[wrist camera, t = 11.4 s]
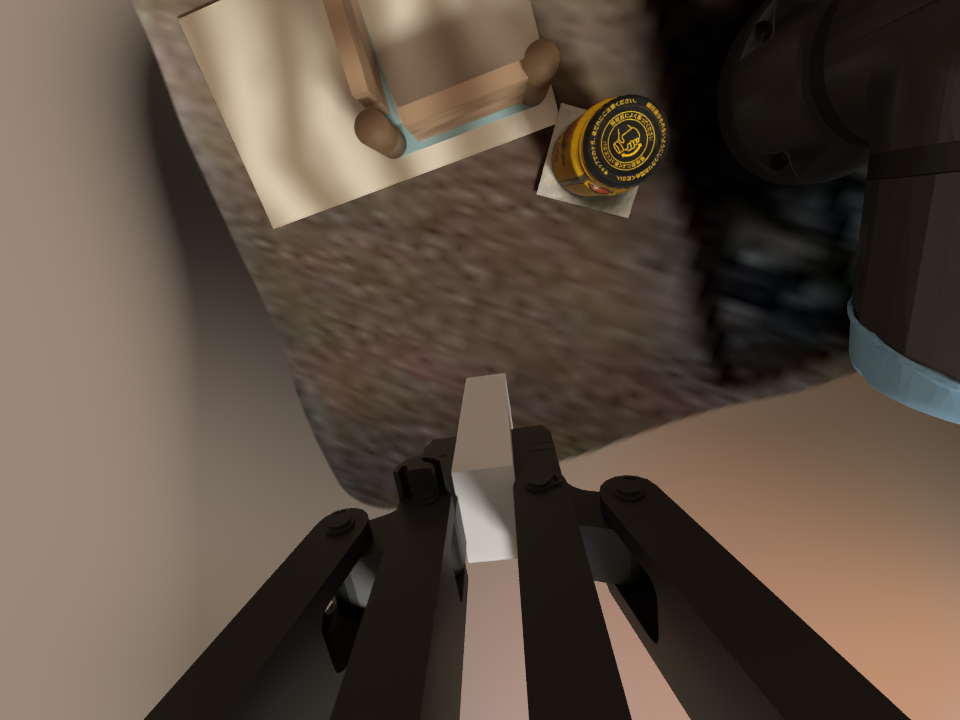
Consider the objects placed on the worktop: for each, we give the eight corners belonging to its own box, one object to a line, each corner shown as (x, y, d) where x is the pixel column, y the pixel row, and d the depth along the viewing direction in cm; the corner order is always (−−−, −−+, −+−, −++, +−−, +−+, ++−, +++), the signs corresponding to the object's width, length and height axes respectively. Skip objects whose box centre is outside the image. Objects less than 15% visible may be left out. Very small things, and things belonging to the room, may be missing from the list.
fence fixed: (385, 162, 39) (360, 151, 32) (374, 134, 38) (347, 115, 31) (550, 100, 37) (564, 73, 30) (542, 68, 36) (554, 32, 29)
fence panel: (397, 110, 37) (374, 86, 30) (370, 119, 37) (341, 96, 30) (350, -53, 34) (312, -124, 27) (321, -42, 34) (275, -111, 27)
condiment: (560, 103, 37) (594, 62, 26) (657, 129, 37) (731, 101, 26) (536, 194, 39) (557, 193, 28) (627, 218, 40) (683, 226, 29)
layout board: (498, -121, 33) (498, -126, 32) (560, 122, 38) (560, 121, 37) (181, 21, 36) (177, 18, 36) (275, 228, 41) (273, 228, 41)
